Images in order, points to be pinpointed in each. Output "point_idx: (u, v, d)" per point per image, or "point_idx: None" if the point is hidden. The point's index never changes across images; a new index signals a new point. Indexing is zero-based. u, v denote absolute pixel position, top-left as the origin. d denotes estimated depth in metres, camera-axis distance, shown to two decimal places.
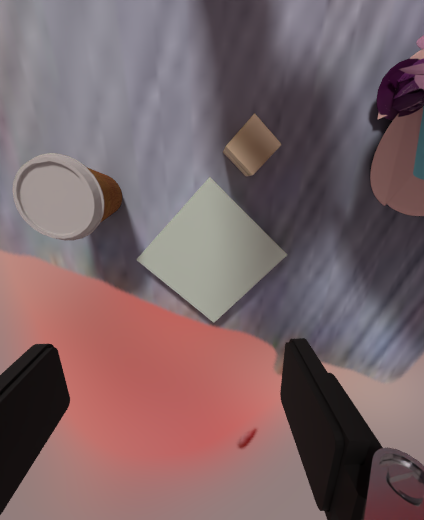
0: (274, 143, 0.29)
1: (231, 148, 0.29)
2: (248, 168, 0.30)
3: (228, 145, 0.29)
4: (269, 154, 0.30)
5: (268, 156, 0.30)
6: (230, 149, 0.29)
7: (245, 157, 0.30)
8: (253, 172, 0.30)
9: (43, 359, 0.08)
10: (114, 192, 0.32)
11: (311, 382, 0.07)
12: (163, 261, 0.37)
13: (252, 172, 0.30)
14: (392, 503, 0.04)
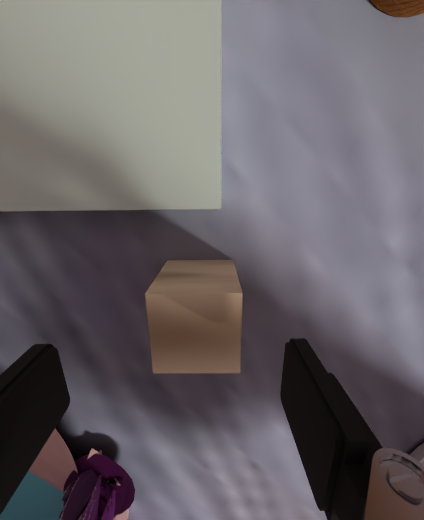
0: (165, 365, 0.13)
1: (228, 298, 0.12)
2: (164, 296, 0.12)
3: (238, 298, 0.12)
4: (155, 346, 0.13)
5: (153, 342, 0.13)
6: (228, 295, 0.12)
7: (188, 306, 0.12)
8: (149, 298, 0.12)
9: (43, 359, 0.08)
10: None
11: (311, 382, 0.07)
12: None
13: (150, 296, 0.12)
14: (392, 503, 0.04)
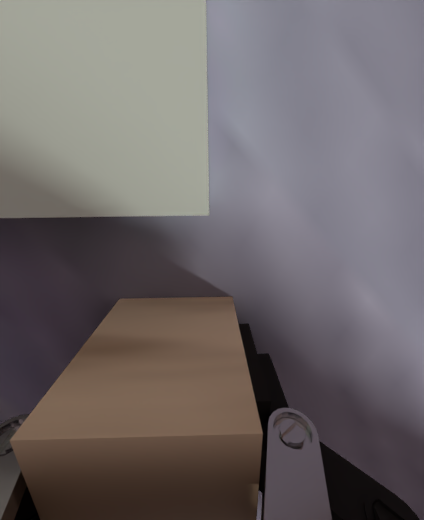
0: None
1: (227, 444, 0.05)
2: (63, 443, 0.05)
3: (252, 444, 0.05)
4: None
5: None
6: (227, 437, 0.05)
7: (127, 463, 0.05)
8: (22, 449, 0.05)
9: None
10: None
11: None
12: None
13: (26, 445, 0.05)
14: (284, 455, 0.05)
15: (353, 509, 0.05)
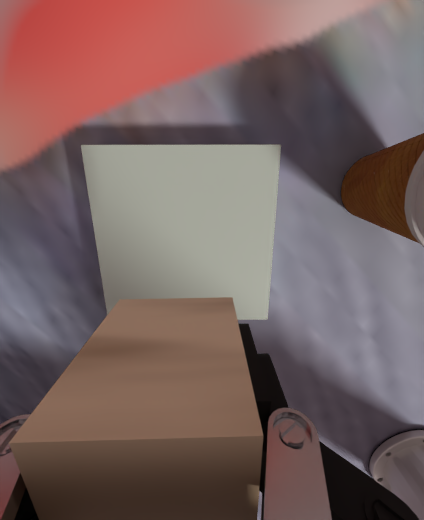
0: None
1: (227, 447, 0.05)
2: (63, 445, 0.05)
3: (253, 446, 0.05)
4: None
5: None
6: (227, 439, 0.05)
7: (127, 466, 0.05)
8: (22, 451, 0.05)
9: None
10: (370, 220, 0.21)
11: None
12: (241, 178, 0.21)
13: (26, 447, 0.05)
14: (284, 456, 0.05)
15: (353, 509, 0.05)
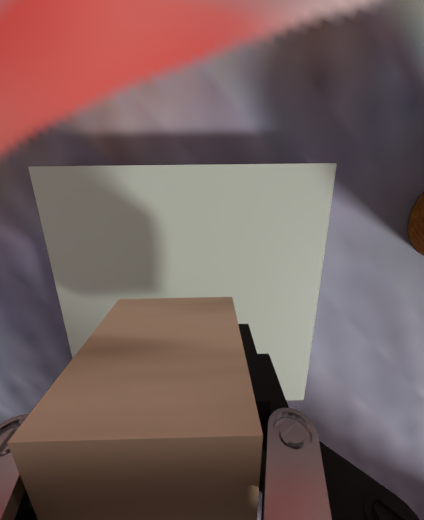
0: None
1: (226, 447, 0.05)
2: (62, 444, 0.05)
3: (252, 446, 0.05)
4: None
5: None
6: (227, 439, 0.05)
7: (126, 465, 0.05)
8: (20, 451, 0.05)
9: None
10: None
11: None
12: (274, 213, 0.14)
13: (24, 447, 0.05)
14: (284, 455, 0.05)
15: (353, 509, 0.05)
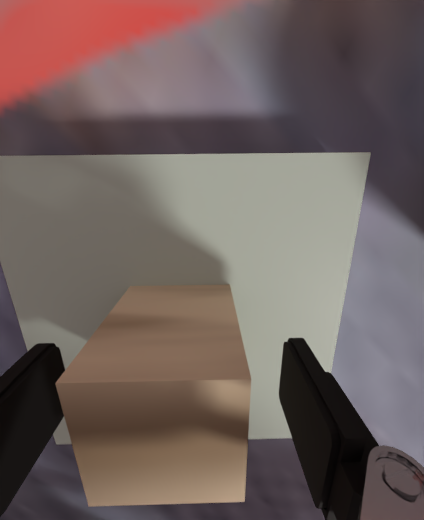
0: (109, 494, 0.07)
1: (223, 389, 0.06)
2: (96, 386, 0.06)
3: (243, 388, 0.06)
4: (87, 466, 0.07)
5: (83, 461, 0.07)
6: (224, 382, 0.06)
7: (145, 404, 0.06)
8: (65, 390, 0.06)
9: (45, 358, 0.08)
10: None
11: (308, 381, 0.07)
12: (288, 217, 0.11)
13: (68, 387, 0.06)
14: (388, 500, 0.05)
15: None
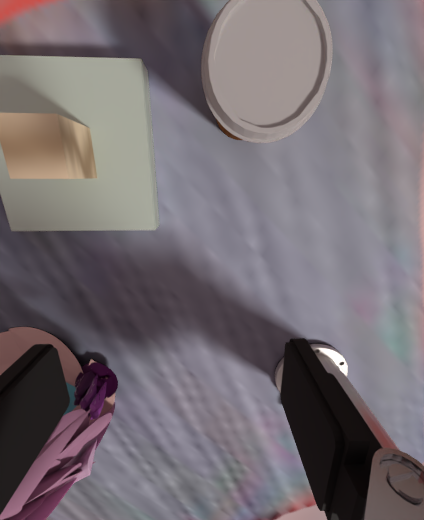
0: (17, 172, 0.20)
1: (48, 117, 0.19)
2: (6, 114, 0.19)
3: (54, 117, 0.19)
4: (7, 155, 0.20)
5: (5, 152, 0.20)
6: (48, 115, 0.19)
7: (23, 123, 0.19)
8: None
9: (43, 359, 0.08)
10: (225, 130, 0.24)
11: (311, 382, 0.07)
12: (111, 90, 0.23)
13: None
14: (392, 503, 0.04)
15: None
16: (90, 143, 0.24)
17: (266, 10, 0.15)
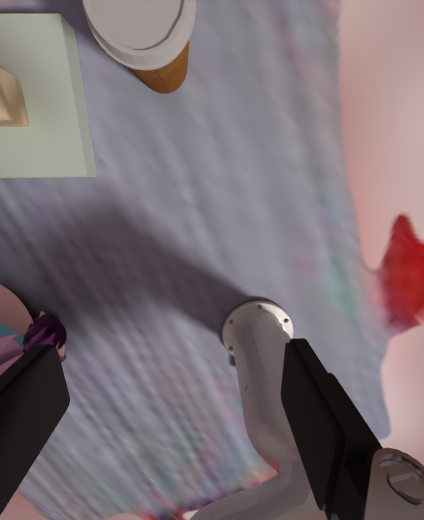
0: None
1: None
2: None
3: None
4: None
5: None
6: None
7: None
8: None
9: (43, 359, 0.08)
10: None
11: (311, 382, 0.07)
12: (36, 43, 0.26)
13: None
14: (392, 503, 0.04)
15: None
16: (20, 92, 0.27)
17: None
